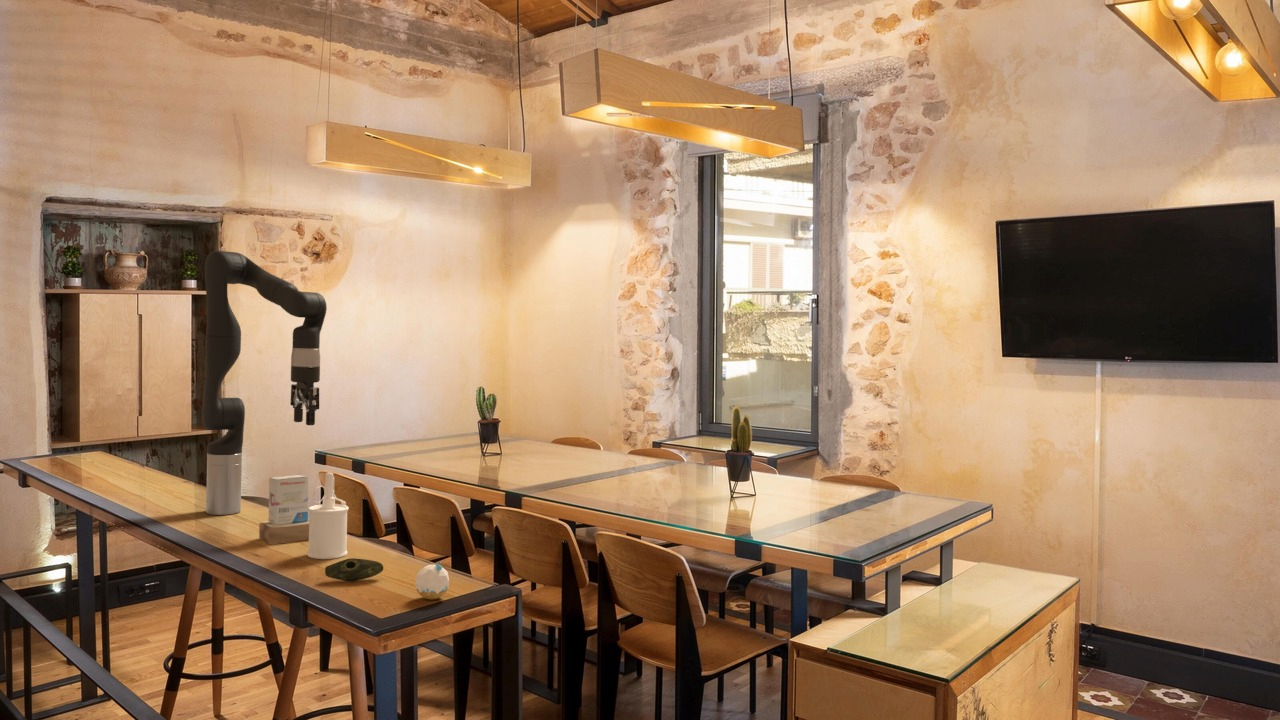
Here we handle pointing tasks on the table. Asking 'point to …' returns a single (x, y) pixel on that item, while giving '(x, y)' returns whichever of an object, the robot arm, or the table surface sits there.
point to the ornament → (432, 581)
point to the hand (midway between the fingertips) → (304, 423)
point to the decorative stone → (353, 569)
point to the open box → (283, 532)
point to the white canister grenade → (328, 524)
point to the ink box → (288, 499)
